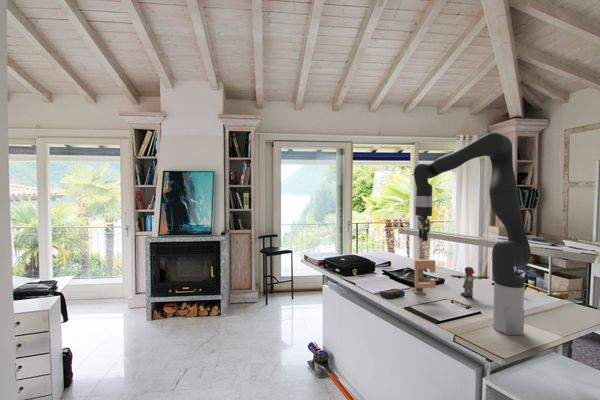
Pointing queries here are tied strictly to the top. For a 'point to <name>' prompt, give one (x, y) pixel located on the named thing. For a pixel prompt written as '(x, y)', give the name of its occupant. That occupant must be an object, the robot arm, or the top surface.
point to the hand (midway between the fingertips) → (423, 239)
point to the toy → (468, 282)
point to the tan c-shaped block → (424, 265)
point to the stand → (420, 279)
